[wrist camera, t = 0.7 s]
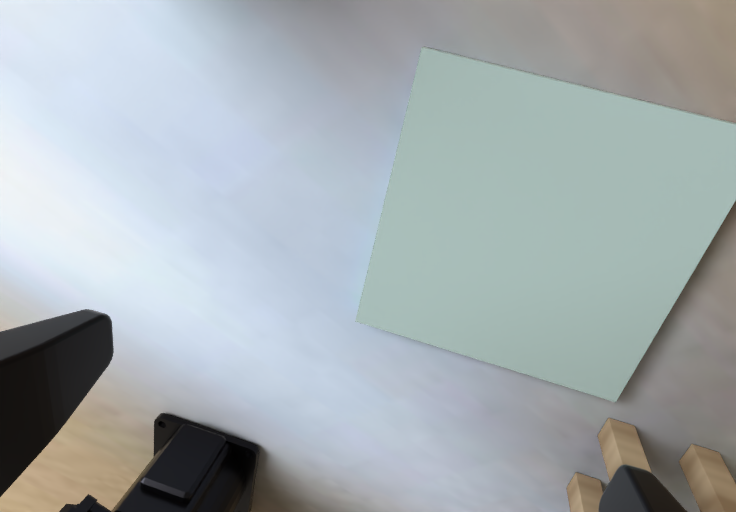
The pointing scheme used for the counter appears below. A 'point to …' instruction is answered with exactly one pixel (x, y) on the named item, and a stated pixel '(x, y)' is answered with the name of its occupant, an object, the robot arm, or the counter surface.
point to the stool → (622, 446)
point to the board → (543, 220)
